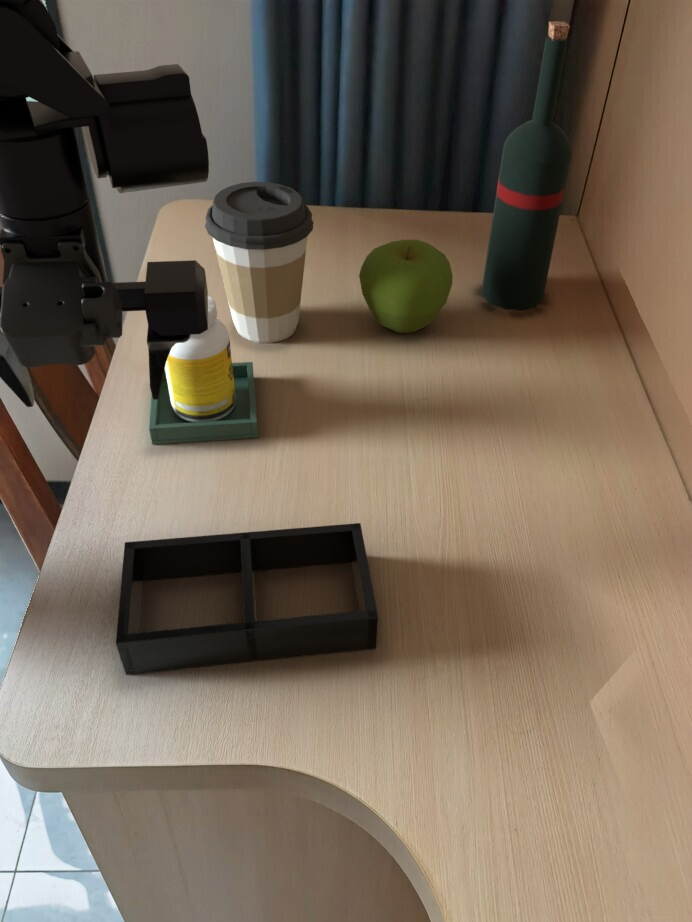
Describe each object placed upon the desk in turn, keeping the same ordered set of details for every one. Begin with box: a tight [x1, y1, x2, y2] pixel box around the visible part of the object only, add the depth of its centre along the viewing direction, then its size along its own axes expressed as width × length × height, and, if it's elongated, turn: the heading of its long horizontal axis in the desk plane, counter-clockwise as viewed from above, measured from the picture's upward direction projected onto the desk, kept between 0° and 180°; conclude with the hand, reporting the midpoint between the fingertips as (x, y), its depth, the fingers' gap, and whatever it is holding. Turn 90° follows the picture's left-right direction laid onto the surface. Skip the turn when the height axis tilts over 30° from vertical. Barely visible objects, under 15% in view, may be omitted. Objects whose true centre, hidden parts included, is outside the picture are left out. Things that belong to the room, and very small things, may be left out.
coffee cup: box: [204, 181, 314, 344], centre depth 88 cm, size 11×11×15 cm
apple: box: [358, 239, 453, 334], centre depth 91 cm, size 11×10×10 cm
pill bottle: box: [165, 294, 236, 422], centre depth 77 cm, size 6×6×12 cm
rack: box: [115, 522, 379, 676], centre depth 63 cm, size 19×10×4 cm, turn 99°
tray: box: [148, 361, 259, 445], centre depth 81 cm, size 10×10×2 cm
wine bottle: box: [481, 21, 572, 311], centre depth 91 cm, size 8×10×30 cm
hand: (94, 400), depth 61 cm, fingers open, 9 cm apart
